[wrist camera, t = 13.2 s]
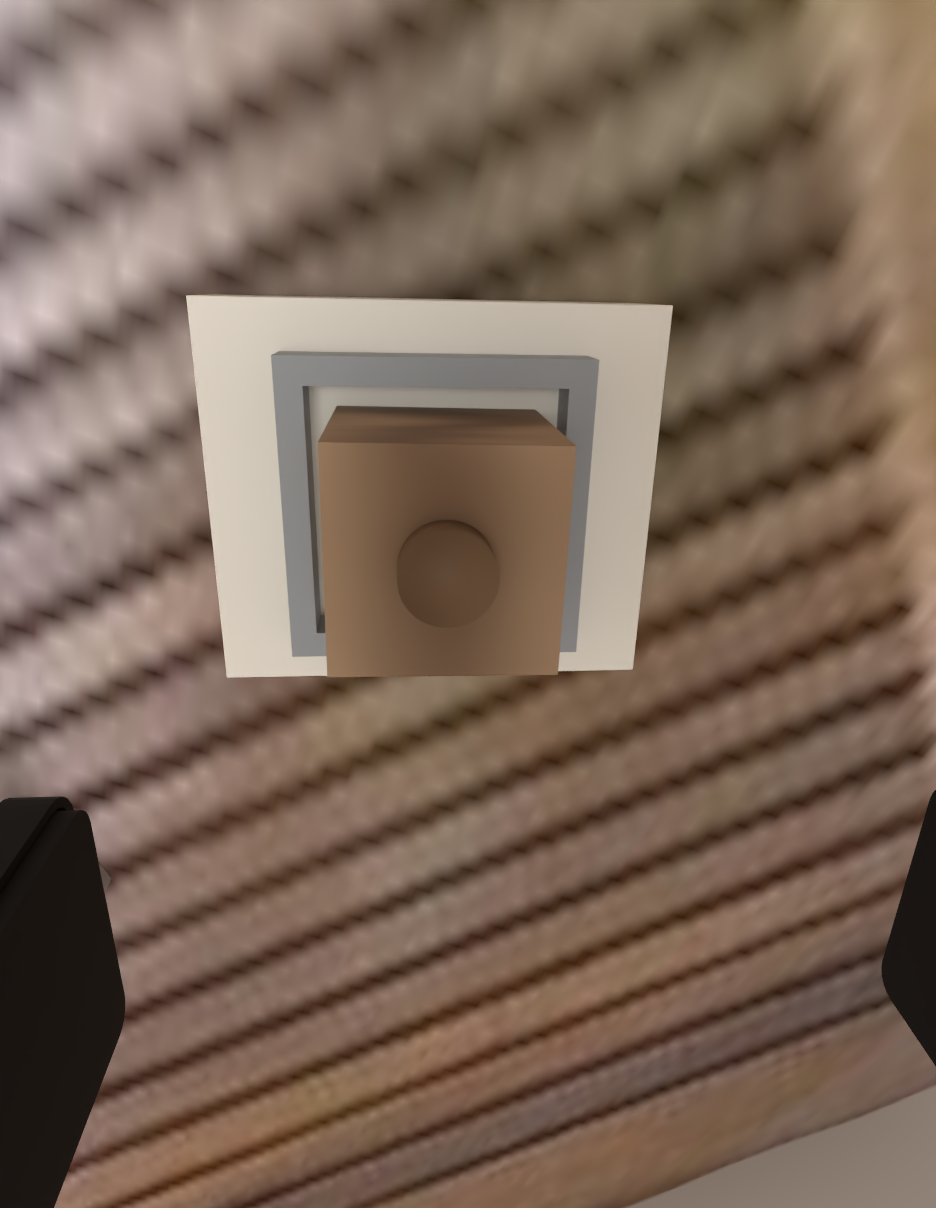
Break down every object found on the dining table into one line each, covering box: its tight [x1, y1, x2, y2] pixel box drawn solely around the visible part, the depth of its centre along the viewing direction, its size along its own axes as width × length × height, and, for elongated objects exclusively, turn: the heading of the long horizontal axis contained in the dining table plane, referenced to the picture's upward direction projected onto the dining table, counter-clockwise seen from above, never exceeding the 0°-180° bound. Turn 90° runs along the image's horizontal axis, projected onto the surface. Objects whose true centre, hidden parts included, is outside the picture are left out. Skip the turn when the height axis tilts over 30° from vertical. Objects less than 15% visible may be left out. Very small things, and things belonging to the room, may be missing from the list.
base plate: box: [186, 294, 673, 677], centre depth 26 cm, size 14×12×6 cm
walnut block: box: [318, 406, 577, 677], centre depth 21 cm, size 6×6×7 cm
